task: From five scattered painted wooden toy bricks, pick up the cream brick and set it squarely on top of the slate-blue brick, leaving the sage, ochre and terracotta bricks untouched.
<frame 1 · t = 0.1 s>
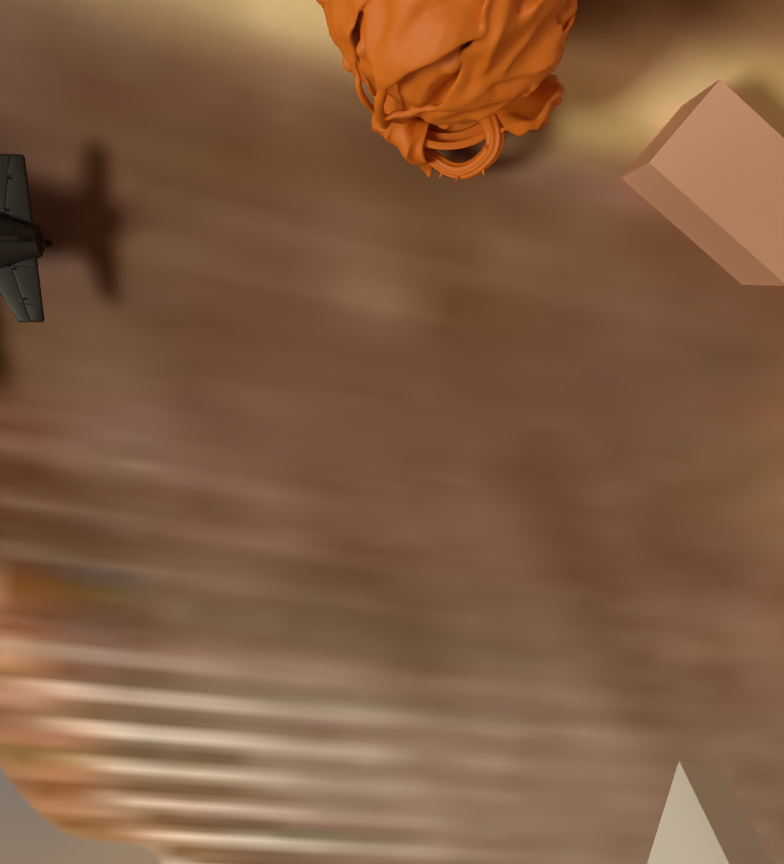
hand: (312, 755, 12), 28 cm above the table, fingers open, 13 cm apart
orange lumpy upright piece: (450, 78, 35), on the table
terracotta brick: (711, 198, 35), on the table
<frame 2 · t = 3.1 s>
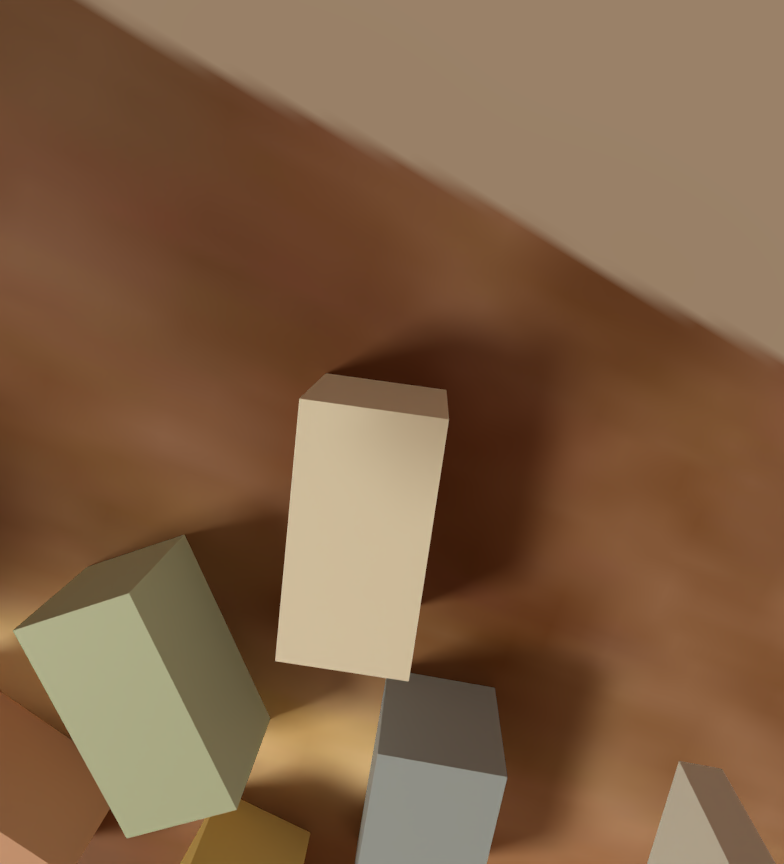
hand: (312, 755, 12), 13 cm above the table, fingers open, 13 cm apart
sage brick: (182, 642, 27), on the table
slate brick: (423, 765, 28), on the table
cream brick: (372, 493, 25), on the table
terracotta brick: (21, 751, 29), on the table
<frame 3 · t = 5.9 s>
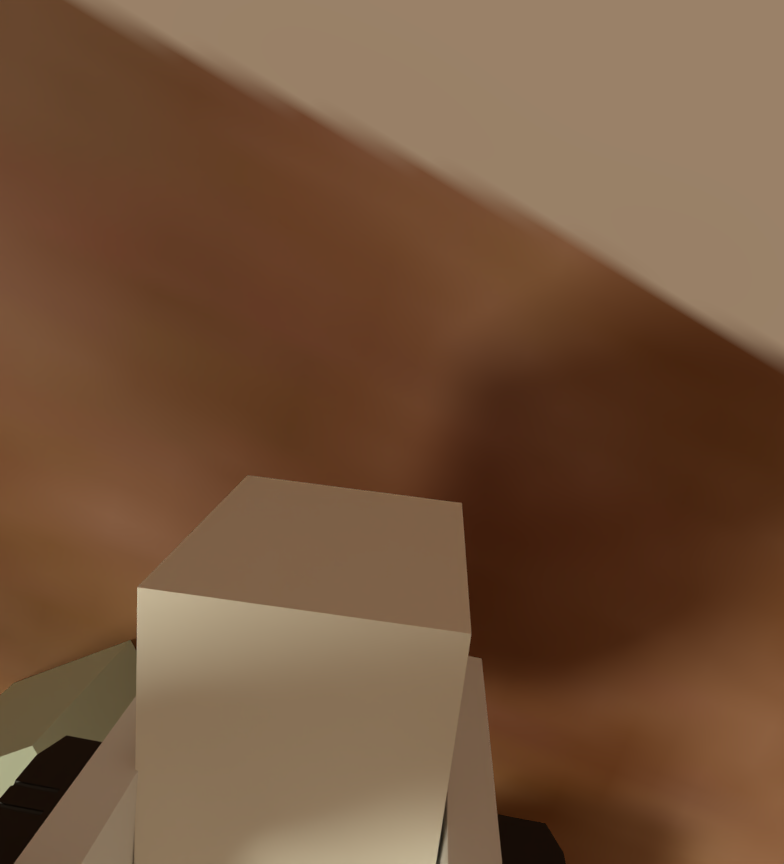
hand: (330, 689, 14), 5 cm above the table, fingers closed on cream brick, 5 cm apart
sage brick: (137, 773, 22), on the table
cream brick: (335, 677, 15), point 5 cm above the table, touching gripper
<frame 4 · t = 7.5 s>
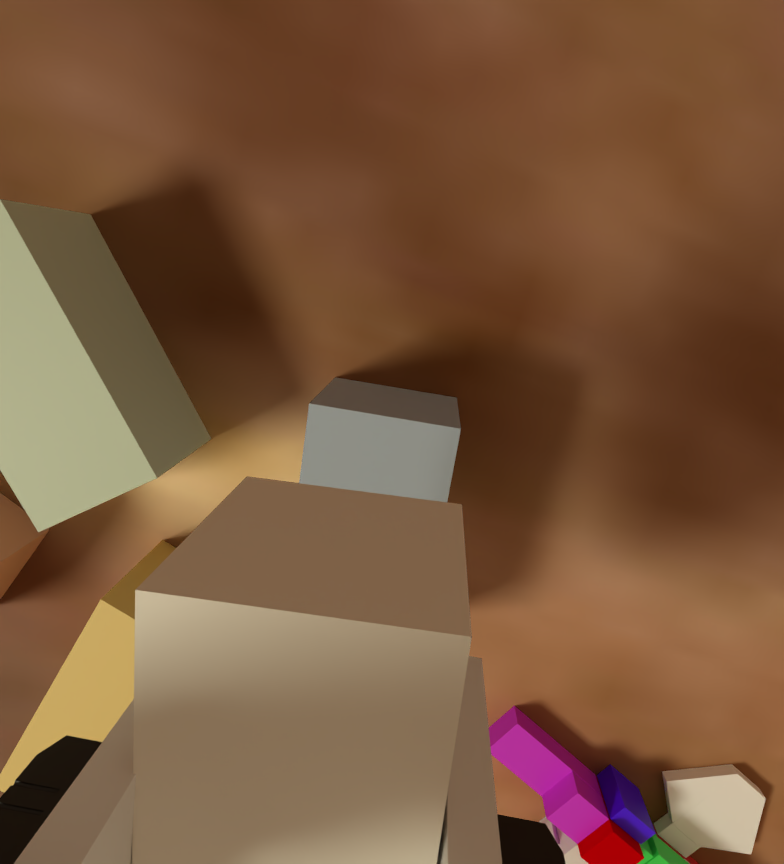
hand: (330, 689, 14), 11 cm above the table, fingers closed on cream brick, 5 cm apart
sage brick: (104, 355, 24), on the table
slate brick: (378, 500, 25), on the table
cream brick: (334, 679, 14), point 11 cm above the table, touching gripper
ochre brick: (162, 648, 27), on the table
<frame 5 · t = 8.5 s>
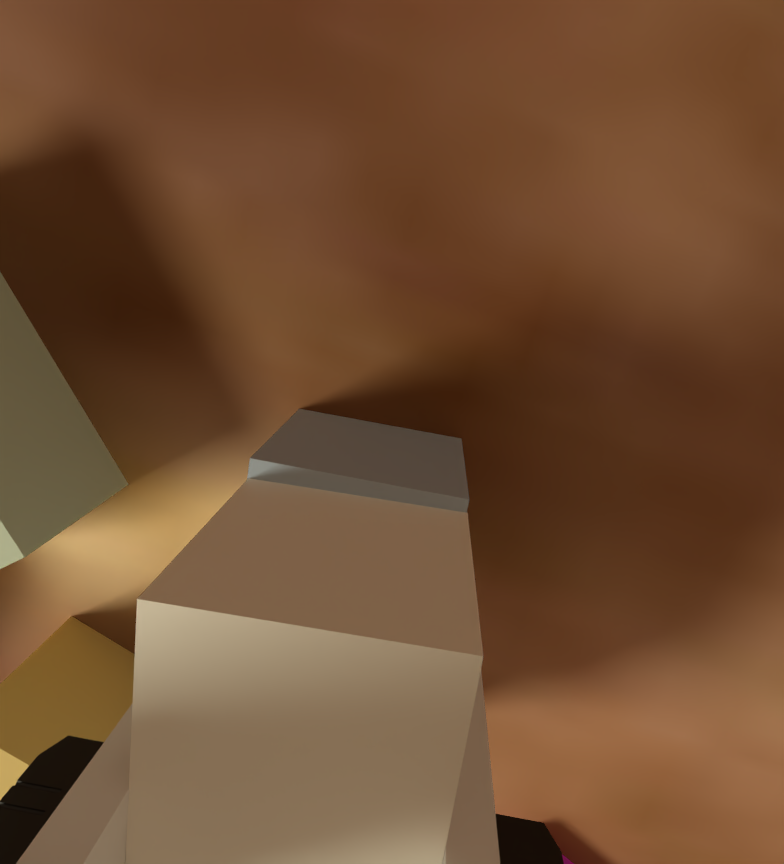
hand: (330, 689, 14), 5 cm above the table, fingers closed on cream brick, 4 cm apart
slate brick: (355, 568, 19), on the table, touching cream brick, gripper
cream brick: (331, 686, 14), point 5 cm above the table, touching gripper, slate brick
ochre brick: (74, 750, 21), on the table
when the fingers open (5 cm above the table, at t = 8.9 s): cream brick stays where it is, resting on slate brick.
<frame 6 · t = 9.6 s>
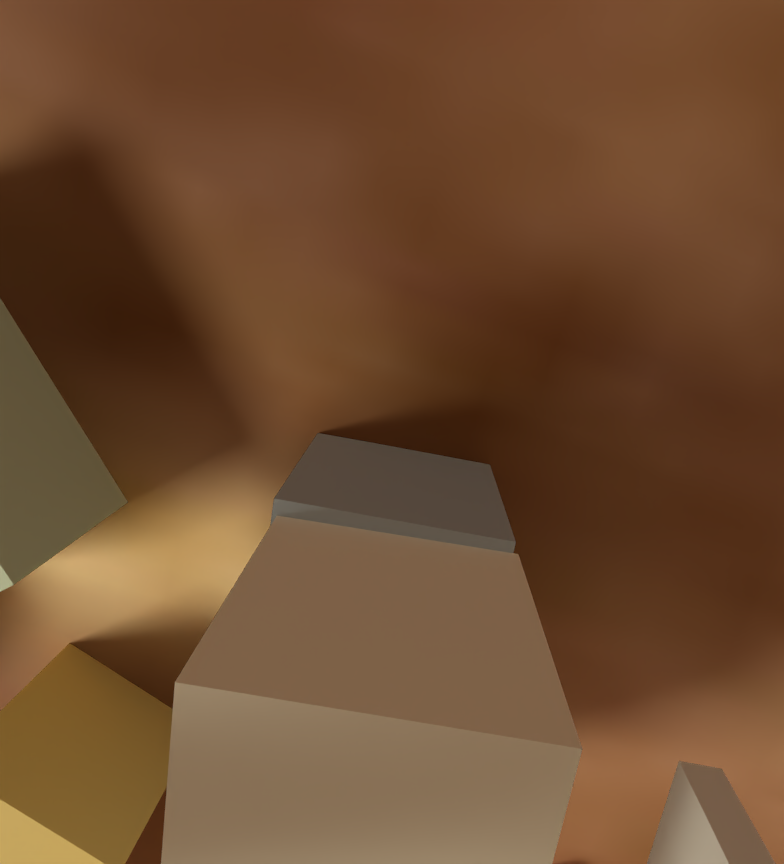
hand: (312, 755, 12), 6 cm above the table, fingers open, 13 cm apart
slate brick: (375, 603, 18), on the table, touching cream brick
cream brick: (363, 740, 13), point 5 cm above the table, touching slate brick
ochre brick: (68, 782, 20), on the table
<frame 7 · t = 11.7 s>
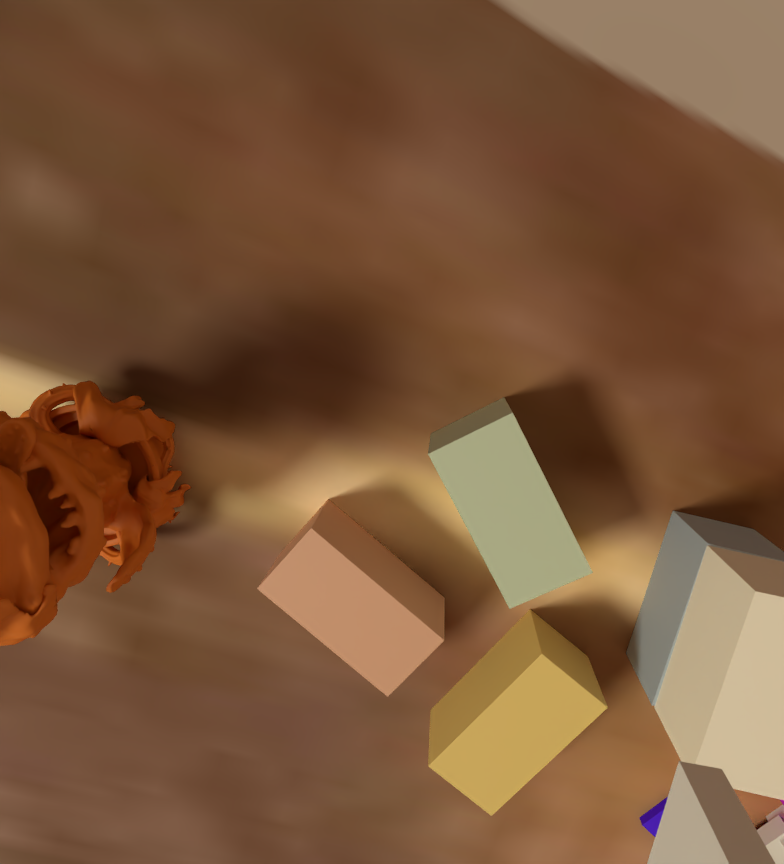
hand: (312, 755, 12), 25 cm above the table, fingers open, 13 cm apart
sage brick: (502, 485, 36), on the table
slate brick: (687, 592, 37), on the table, touching cream brick
cream brick: (725, 638, 32), point 5 cm above the table, touching slate brick
orange lumpy upright piece: (123, 456, 38), on the table
ochre brick: (507, 682, 39), on the table
terracotta brick: (362, 574, 38), on the table
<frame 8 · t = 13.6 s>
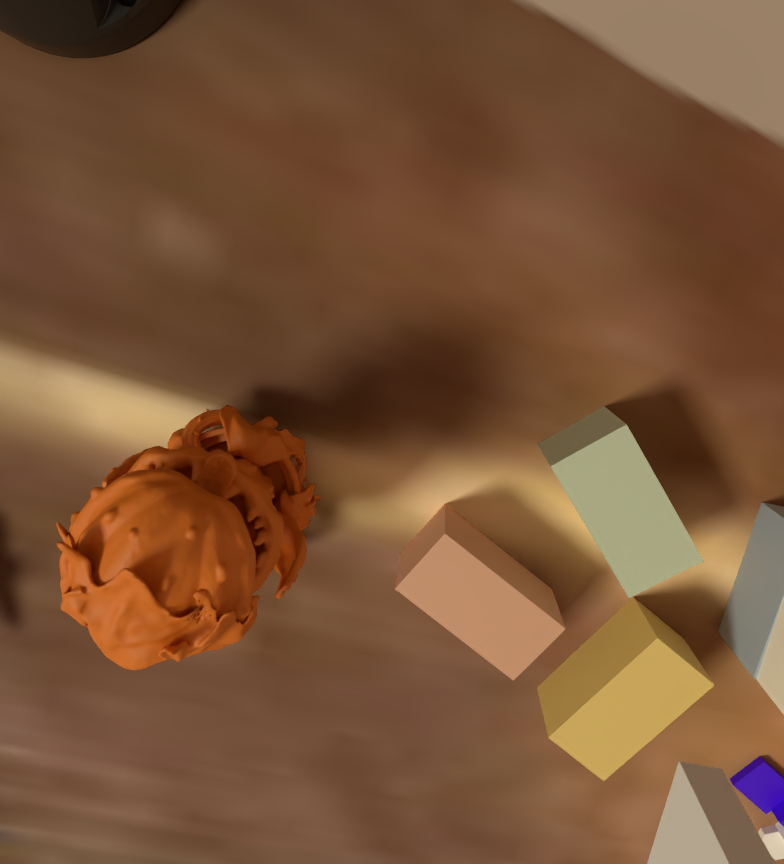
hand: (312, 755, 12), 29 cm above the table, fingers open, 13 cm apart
sage brick: (605, 485, 40), on the table
slate brick: (774, 575, 40), on the table, touching cream brick
orange lumpy upright piece: (253, 471, 42), on the table
ochre brick: (608, 662, 43), on the table
terracotta brick: (475, 570, 42), on the table
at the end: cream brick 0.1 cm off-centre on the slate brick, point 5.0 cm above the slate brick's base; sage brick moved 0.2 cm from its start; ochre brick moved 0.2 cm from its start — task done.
